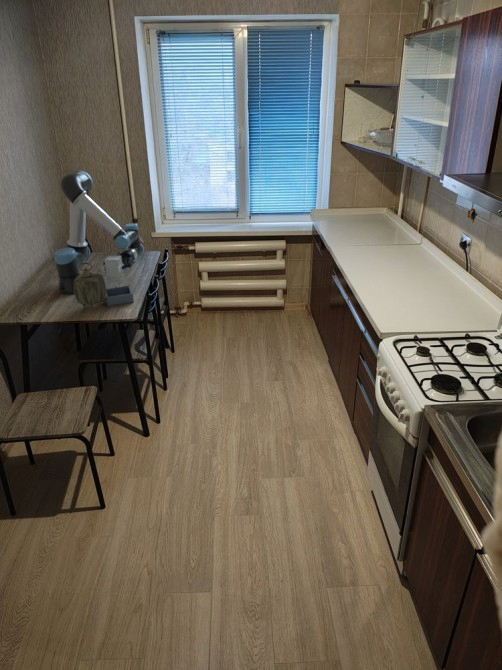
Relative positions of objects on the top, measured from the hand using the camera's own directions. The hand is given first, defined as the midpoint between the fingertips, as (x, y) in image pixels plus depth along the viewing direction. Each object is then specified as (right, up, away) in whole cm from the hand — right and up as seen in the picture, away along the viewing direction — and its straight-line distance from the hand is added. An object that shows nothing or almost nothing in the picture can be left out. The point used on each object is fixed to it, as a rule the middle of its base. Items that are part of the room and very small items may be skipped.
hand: (110, 269), depth 256 cm
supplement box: (+1, -5, +8) cm, 9 cm away
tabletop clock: (-10, -20, +4) cm, 23 cm away
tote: (+1, -15, +13) cm, 19 cm away
